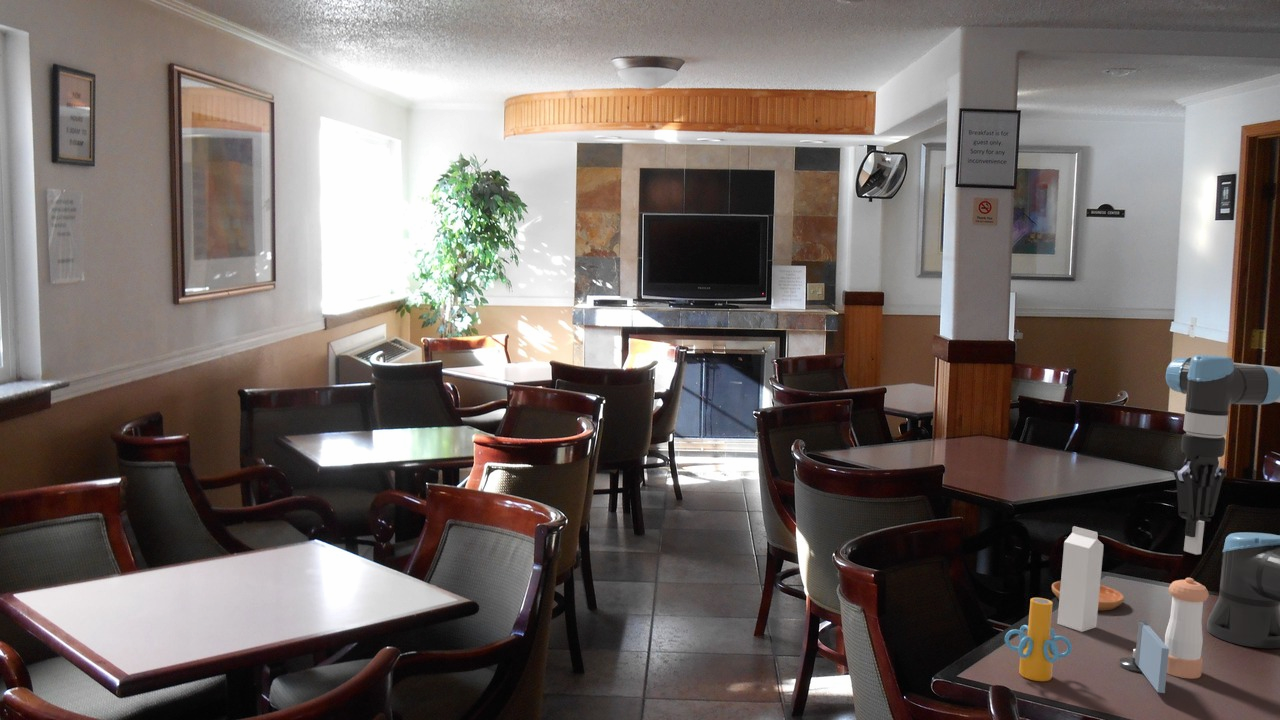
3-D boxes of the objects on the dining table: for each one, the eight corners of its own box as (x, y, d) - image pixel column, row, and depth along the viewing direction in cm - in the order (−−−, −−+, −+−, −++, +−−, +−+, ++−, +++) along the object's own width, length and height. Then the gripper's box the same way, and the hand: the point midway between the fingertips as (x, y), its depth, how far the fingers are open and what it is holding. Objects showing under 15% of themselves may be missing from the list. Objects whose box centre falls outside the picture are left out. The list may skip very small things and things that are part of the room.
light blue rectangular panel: (1134, 662, 211) (1138, 620, 210) (1141, 662, 211) (1145, 621, 210) (1157, 692, 196) (1161, 648, 195) (1164, 693, 196) (1169, 648, 195)
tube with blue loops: (1067, 671, 208) (1074, 597, 207) (1070, 691, 199) (1077, 614, 197) (1002, 661, 212) (1008, 588, 211) (1001, 680, 202) (1008, 604, 201)
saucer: (1122, 598, 257) (1124, 586, 257) (1123, 618, 243) (1124, 605, 242) (1052, 587, 264) (1053, 576, 263) (1048, 606, 249) (1049, 593, 249)
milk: (1081, 632, 231) (1090, 534, 229) (1056, 623, 236) (1064, 527, 234) (1096, 627, 235) (1105, 530, 233) (1071, 618, 240) (1080, 524, 237)
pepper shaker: (1185, 681, 206) (1195, 585, 204) (1152, 667, 213) (1161, 574, 211) (1209, 675, 209) (1218, 581, 208) (1175, 662, 216) (1184, 571, 214)
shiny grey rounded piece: (1132, 659, 216) (1134, 642, 216) (1158, 670, 211) (1160, 652, 211) (1112, 663, 214) (1114, 646, 213) (1138, 674, 208) (1140, 657, 208)
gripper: (1207, 429, 212) (1196, 544, 215) (1164, 432, 206) (1153, 550, 209) (1243, 436, 206) (1231, 554, 208) (1200, 439, 200) (1188, 560, 202)
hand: (1192, 552), depth 209 cm, fingers closed
